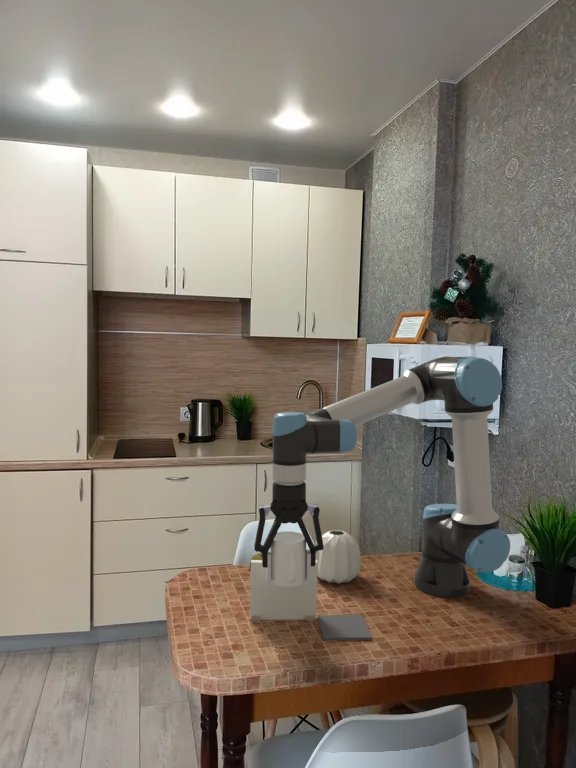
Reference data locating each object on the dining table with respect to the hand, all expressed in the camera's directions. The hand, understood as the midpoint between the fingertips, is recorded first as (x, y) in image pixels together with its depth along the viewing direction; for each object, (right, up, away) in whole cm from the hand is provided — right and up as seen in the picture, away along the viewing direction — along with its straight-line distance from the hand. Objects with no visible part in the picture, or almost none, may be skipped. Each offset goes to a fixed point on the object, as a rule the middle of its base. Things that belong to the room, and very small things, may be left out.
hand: (288, 580), depth 129 cm
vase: (+14, -12, +35) cm, 39 cm away
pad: (+13, -13, +5) cm, 19 cm away
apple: (-7, -11, +32) cm, 35 cm away
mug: (0, -1, 0) cm, 1 cm away
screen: (-1, -12, +9) cm, 15 cm away
